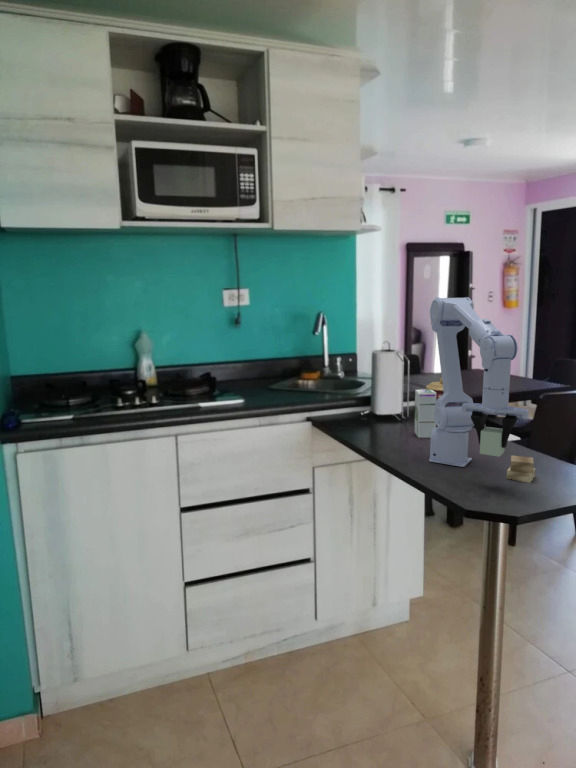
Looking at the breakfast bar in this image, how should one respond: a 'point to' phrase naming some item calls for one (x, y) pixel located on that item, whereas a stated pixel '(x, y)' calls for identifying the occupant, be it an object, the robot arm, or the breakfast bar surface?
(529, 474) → the slab bottom
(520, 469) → the slab top
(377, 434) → the breakfast bar surface
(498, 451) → the block
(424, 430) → the syrup box
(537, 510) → the breakfast bar surface
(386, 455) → the breakfast bar surface
